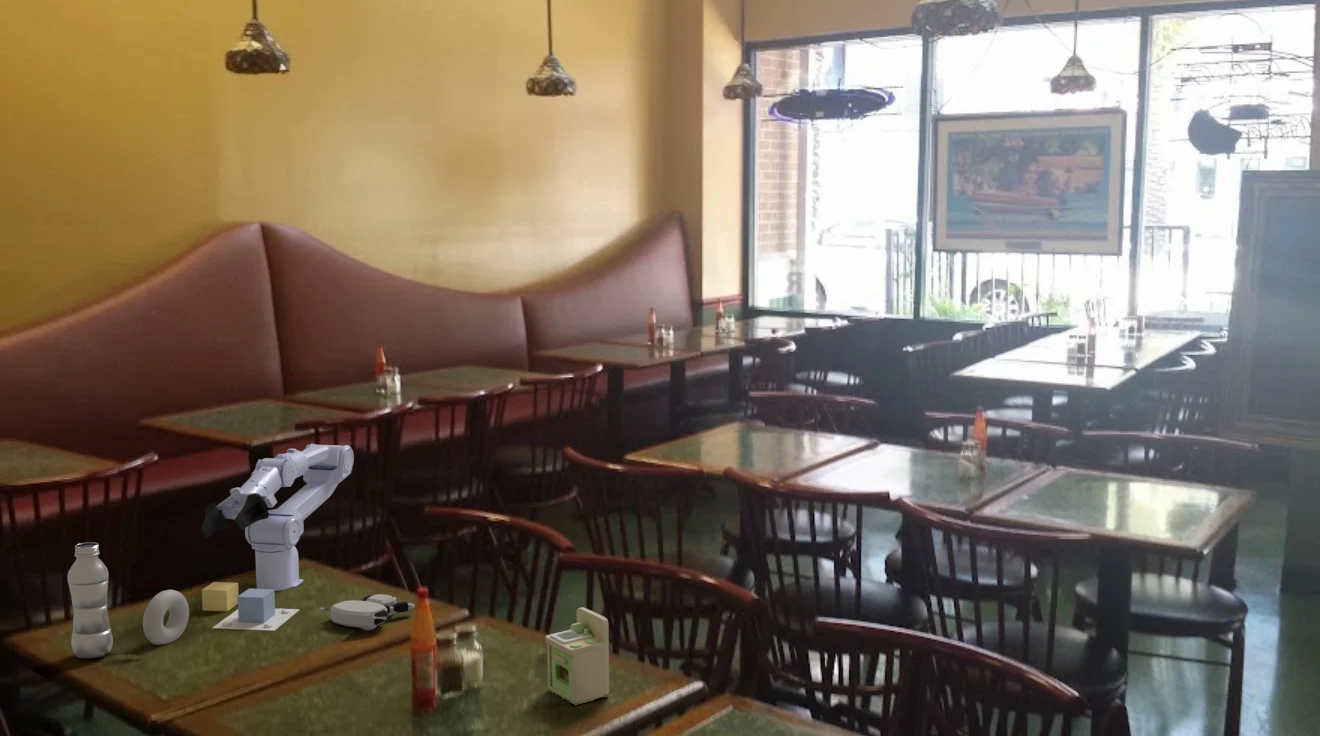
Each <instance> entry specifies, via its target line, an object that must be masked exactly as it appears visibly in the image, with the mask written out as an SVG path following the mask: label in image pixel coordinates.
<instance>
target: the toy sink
mask: <svg viewBox="0 0 1320 736" xmlns="http://www.w3.org/2000/svg"><path fill="white" fill-rule="evenodd" d="M609 633H610V632H609V621H608V618H606V617H605V616H604V615H600V613H598V612H595V611H593V610H590V609H588V608H586V607H583V606H582V607H579V608H577V609H576V623H572V624H571V625H570V627H569V629H567V630H564V631H559V632H554V633H551V634H548V635H545V637H544V639H545V641H544V642H545V643H546V654H547V655H546V663H547V664H546V665H547V667H546V668H547V670H546V671H547V689H548V688H549V689H551V690H552V691H554V692H556V693H557V694H559V695H561V696H563V697H565V698H567V699H568V700H570V701H572V702H574V703H578V702H581V701H584V700H587V699H591V698H595V697H598V696H602V695H604V694H608V693H609V694H610V652H609V651H610V646H609V645H610V641H609V639H610V637H609Z"/></svg>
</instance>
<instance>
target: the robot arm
mask: <svg viewBox="0 0 1320 736" xmlns="http://www.w3.org/2000/svg"><path fill="white" fill-rule="evenodd" d="M354 457H355V455H354V450H353V449H352V447H351V446H350V445H348V444H345V445H336V444H335V445H333V444H332V445H329V444H315V443H310V444H307V445H306V446H305V448H304V449H303V450H301V451H300V450H297V449H296V448H288V449H286V453H278V454H277V455H276V456H275V457H274V458H270V457H269V458H268V457H265V458H263V459H258V461H257V462H256V464H255V469H254V470H253V471H252V472H251V475H250V478H249V479H247V480H246V482H244V483H243V484H242V486H240V487H234V488H231V489H230V490H229V494H230V496H228V497H227V498H226V499H225V500H222V501H221V502H220V503H218V505H217V504H216V503H215V502H214V503H209V504H208V505H206V507H205V517H204V520H203V523H202V525H201V527H200V529H199V530H200V533H201V535H202V536H203V538H204V539H207V538H209V537H212V536H213V535H214V534H215V533H216V532H219V531H220V530H223V529H228V528H229V527H230V525H229V523H228V522H227V520H234V521H233V522H234V525H235V526H236V528H237V530H238V531H242V530H244V536H245V539H246V541H247V542H248V544H250V545H251V549H252V550H254V552H255V576H256V578H255V579H256V580H255V581H256V582H255V583H256V589H274V592H276V591H277V592H278V591H284V590H287V589H289V588H290V589H291V587H297V588H298V586H299V585H300V584H302V583H303V582H304V579H301V578H300V573H299V572H300V571H299V569H300V568H299V552H298V549H297V548H296V545H297V543H298V541H300V538H301V536H302V535H303V533H304V531H305V530H304V521H305V520H306V519H307V518H308V517H309V516H310V515H311V514H312V513H313V512H315V511H316V510H317V509H318V508H319V507H320V506H321V505H323V504H324V502H326V501H327V500H328V499H330V497H331V496H332V495H333V493H334V491H335V490H336V489H337V487H338V485H339V484H340V483H342V481H344V480H345V479H346V478H347V477H348V476H350V474H352V470H353V465H354V459H355V458H354ZM301 476H303V477H302V478H303V479H302V480H303V482H305V483H306V484H305V485H304V486H303V487H301V488H300V489H299V490H297V492H295V493H294V494H293V495H292V496H291V497H289V498H288V499H287V500H286V501H285V502H283V503H282V504H281V505H280V506H278V508H275V509H271V508H274V507H275V505H276V504H278V501H277V499H276V497H275V494H276V493H277V492H278V491H279V490H280V488H282V487H283V488H286V487H292V485H293V484H294V482H295V480H296V479H297V478H299V477H301ZM268 508H269V509H270V510H269V509H268ZM226 519H227V520H226Z"/></svg>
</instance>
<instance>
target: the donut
mask: <svg viewBox="0 0 1320 736" xmlns="http://www.w3.org/2000/svg"><path fill="white" fill-rule="evenodd" d="M189 607H190V606H189V603H188V601H187V598H186V597H185V596H184V594H182V593H181V591H177V590H174V589H167V590H162V591H160V592H159V593H157V594H155V596H153V598H152V599H151V600H150V601H149V602H148V604H147V606H146V608H145V610H144V613H143V617H142V628H143V633H144V635H145V637H146V639H147V640H148V641H149V642H150V643H151V644H153V645H155V646H162V645H167V644H170V643H172V642H175V641H176V640H178V639H179V638H180V637H181V636H182V635H183V634H184V632H185V630H186V628H187V625H188V621H189V618H190V608H189ZM167 611H168V612H169V614H168V615H169V616H168V619H167V622H166V623H165V624H164V618H165V615H166V613H167Z"/></svg>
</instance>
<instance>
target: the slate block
mask: <svg viewBox="0 0 1320 736" xmlns="http://www.w3.org/2000/svg"><path fill="white" fill-rule="evenodd" d="M275 601H276V600H275V591H274V589H257V588H248V589H246V590H245V591H244V592H242V593H240V594H239V596H238V604H237V609H238V620H239V622H242V623H265V622H267V621H268V620H269V619H270V618H272V617H273V616H274V615H275V608H276V602H275Z"/></svg>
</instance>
